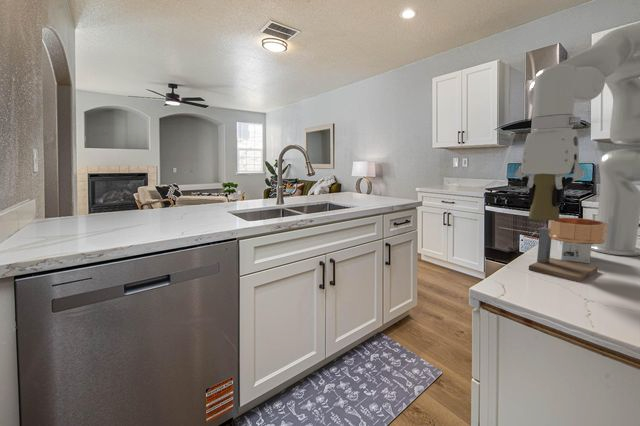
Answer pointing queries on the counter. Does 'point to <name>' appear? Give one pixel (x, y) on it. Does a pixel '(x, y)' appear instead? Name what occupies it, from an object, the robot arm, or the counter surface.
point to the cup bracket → (572, 233)
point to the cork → (544, 198)
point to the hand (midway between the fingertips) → (545, 204)
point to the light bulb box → (574, 252)
